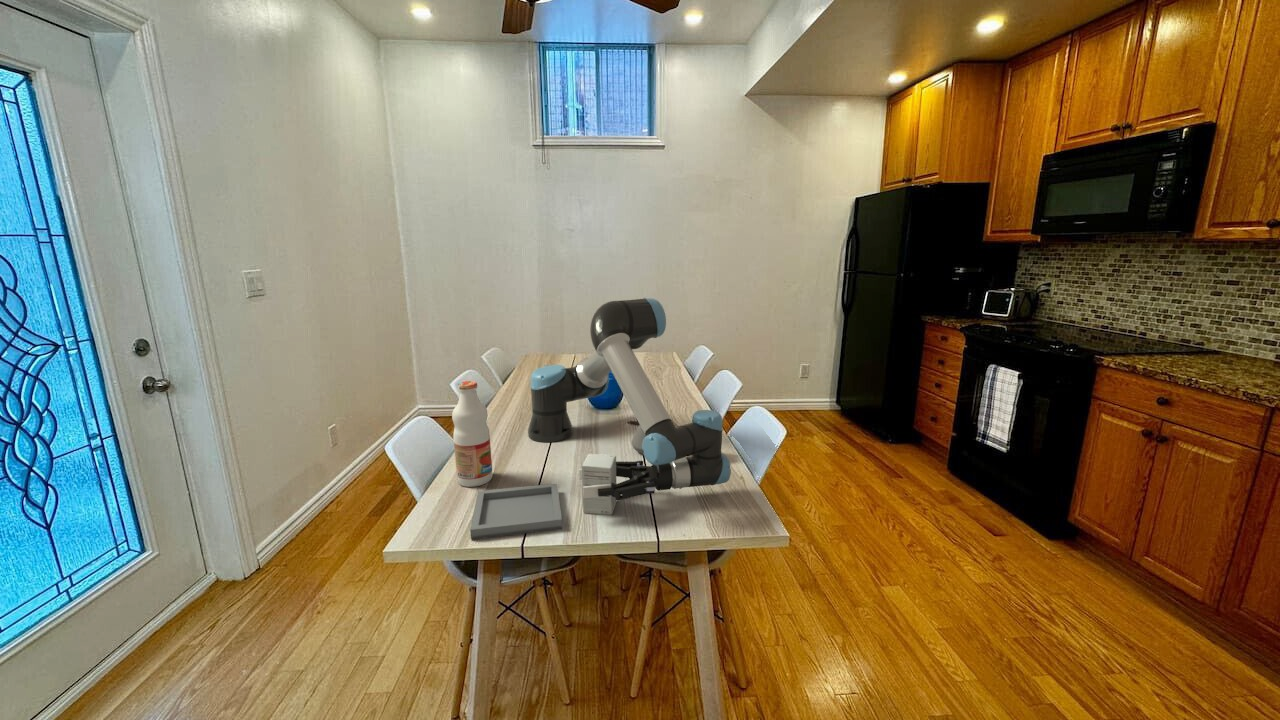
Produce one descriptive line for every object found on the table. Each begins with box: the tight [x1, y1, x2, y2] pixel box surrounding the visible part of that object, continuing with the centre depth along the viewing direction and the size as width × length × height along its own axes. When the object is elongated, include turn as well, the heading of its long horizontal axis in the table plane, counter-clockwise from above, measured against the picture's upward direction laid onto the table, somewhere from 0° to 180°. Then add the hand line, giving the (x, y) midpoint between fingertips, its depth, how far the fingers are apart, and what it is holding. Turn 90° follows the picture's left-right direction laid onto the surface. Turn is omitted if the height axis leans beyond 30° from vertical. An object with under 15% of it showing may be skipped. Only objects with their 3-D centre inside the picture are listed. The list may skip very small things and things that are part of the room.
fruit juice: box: [451, 380, 493, 488], centre depth 135 cm, size 9×9×28 cm
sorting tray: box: [469, 483, 563, 541], centre depth 121 cm, size 18×20×2 cm
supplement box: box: [581, 453, 618, 516], centre depth 123 cm, size 7×7×13 cm
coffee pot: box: [623, 420, 646, 456], centre depth 152 cm, size 21×12×15 cm, turn 154°
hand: (581, 482), depth 122 cm, fingers closed on supplement box, 9 cm apart
